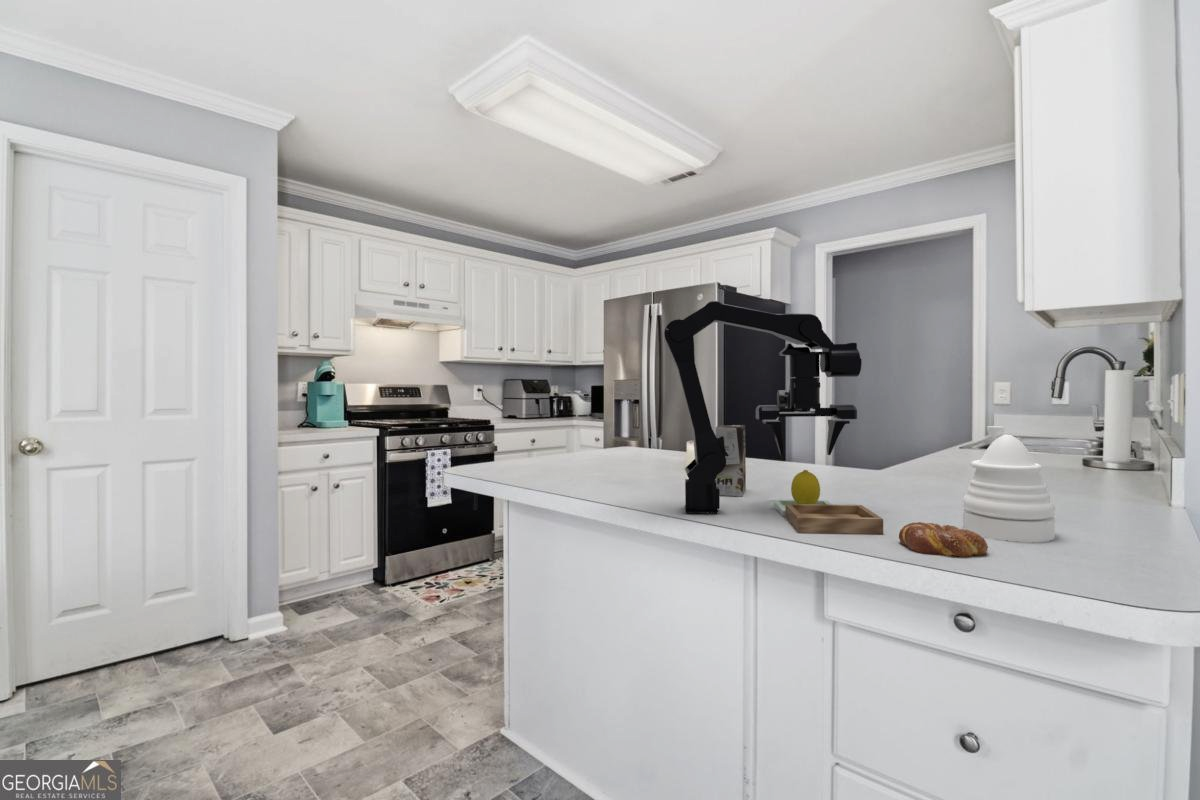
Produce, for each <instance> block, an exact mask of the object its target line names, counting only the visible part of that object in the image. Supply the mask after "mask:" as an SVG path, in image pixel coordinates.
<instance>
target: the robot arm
mask: <svg viewBox="0 0 1200 800" xmlns="http://www.w3.org/2000/svg"><path fill="white" fill-rule="evenodd" d="M713 323H717V324H724V325H728V326H733V327H739V328H743V329H749V330H753V331H759V332H764V333H767V334H770V335H771V334H772V335H774V336H775V337H777V338H779V339H782V340H784V341H787V342H789V343H787V344H786V345H785V347H784V348H783V349H782V350H781V351H779V352H778V356H780V357H783V356H785V357H787V356H788V358H789V388H788V390H786V389H781V390H779V389H778V390H777V392H776V404H777V405H776V404H768V405H767V404H764V405H763V404H759V405H757V406H756V408H755V419H756V420H759V421H762V424H765V425H768V427H769V429H770V430H771V433H772V435H773V437H774V441H775V443H776V445H777V449H778V453H779V455H780V456H784V442H783V441H784V440H783V429H782V427H783V426H782V421H780V420H779V418H780V417H781V418H782V417H784V418H785V417H786V418H787V417H788V418H789V417H790V418H791V417H793V418H794V417H795V418H796V417H802V418H803V417H830V419H827V425H828V427H827V429H828V432H827V441H826V454H827V456H831V455H832V452H833V450H834V447H835V444H836V443H837V441H838V437H839V436H840V434H841V433H842V430H843V428H844V427H845V426H846V425H847V424H848V425H849V424H851V420H857V419H858V409H857V407H856V406H855V405H854V404H849V403H848V404H843V403H842V404H836V403H835V404H830V405H829V407H821V402H820V401H821V397H820V393H821V390H820V389H821V381H820V380H821V379H820V377H821V375H820V372H821V373H825V376H826V377H827V378H855V377H859V375H860V373H861V370H862V364H863V363H862V358H861V354H860V351H859V349H858V344H857V342H849V343H848V342H847V343H834V342H833V341H832V340H831V339H830V337H829V336H828V335H827V334H826V332H825V331H824V329H823V324H822V321H821V320H820V318H819V317H818V316H817V315H815V314H812V313H796V312H795V313H793V312H792V313H773V312H769V311H768V312H767V311H763V310H758V309H753V308H748V307H744V306H743V307H742V306H738V305H733V304H727V303H722V302H720V301H717V300H711V301H709V302H708V303H706V305H704V306H703V307H701V308H700V309H698V310H695V311H694V312H693V313H691V314H690V315H688V316H686V317H685V318H684V319H680V318H679V319H674V320H671V321H670V322H669V323H668V324H667V325H666V326H665V328H664V332H663V341H664V343H665V345H666V348H667V350H668V352H669V354H670V356H671V358H672V361H673V362H674V364H675V366H676V369H677V373H678V377H679V381H680V385H681V388H682V392H683V395H684V399H685V404H686V408H687V411H688V415H689V420H690V423H691V427H692V431H693V449H694V450H693V451H694V459H693V460H692V461H691V462H690V463H689V464H688V465H686V467H684V471H685V473H686V476H687V478H685V479H684V487H685V488H684V490H685V491H684V496H685V497H684V498H685V499H684V500H685V501H684V502H685V504H684V513H685V514H718V513H719V511H718V510H719V509H720V507H721V506H720V504H721V502H720V501H721V499H720V497H721V495H720V493H719V487H716V477H717V474H719V473H721V472H722V471H723V469H724V468H725V466H726V457H725V456H729V455H728V453H727V452H726V450H725V446H724V437H723V436H722V435H720V434H718V435H716V433H715V431H714V430H713V427H712V425H711V421H710V416H709V412H708V408H707V405H706V402H705V397H704V392H703V389H702V385H701V382H700V377H699V373H698V369H697V366H696V363H695V359H696V358H695V357H696V356H695V340H694V336H695V335H697V334H698V333H700V332H701V331H703V330H704V329H706V328H707V327H708V326H710V325H712V324H713ZM792 344H793V345H794V344H795V345H796V346H793V345H792ZM798 345H799V346H798ZM803 345H804V346H803ZM811 350H821V351H811ZM781 407H782V408H781ZM811 409H812V410H811Z"/></svg>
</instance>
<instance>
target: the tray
mask: <svg viewBox="0 0 1200 800" xmlns="http://www.w3.org/2000/svg"><path fill="white" fill-rule="evenodd" d="M785 519H786V520H787V521H788V522H789V524H790V525H791V526H792V527H793V529H794V530H795V531H796V530H797V531H796V532H797V533H799V534H840V533H850V534H849V535H852V534H853V535H854V534H855V535H884V519H883V518H882V517H881V516H879V515H878V514H876V513H875V512H873V511H872V510H871V509H869V508H867V507H865V506H864V505H862V504H832V505H825V504H786V517H785Z"/></svg>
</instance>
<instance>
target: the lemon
mask: <svg viewBox="0 0 1200 800" xmlns="http://www.w3.org/2000/svg"><path fill="white" fill-rule="evenodd" d="M820 486H821V485H820V482H819V479H818V478H817V476H816V475H815V474H814V473H812V472H810V471H808V470H807V469H803V471H801V472H798V473H797V474H796V475H794V477H793V479H792V483H791V488H790V489H791V490H790V492H791V496H792V500H795V502H796V503H797V504H815V503H816V502H817V501H818V500H820V495H821V487H820Z"/></svg>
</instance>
